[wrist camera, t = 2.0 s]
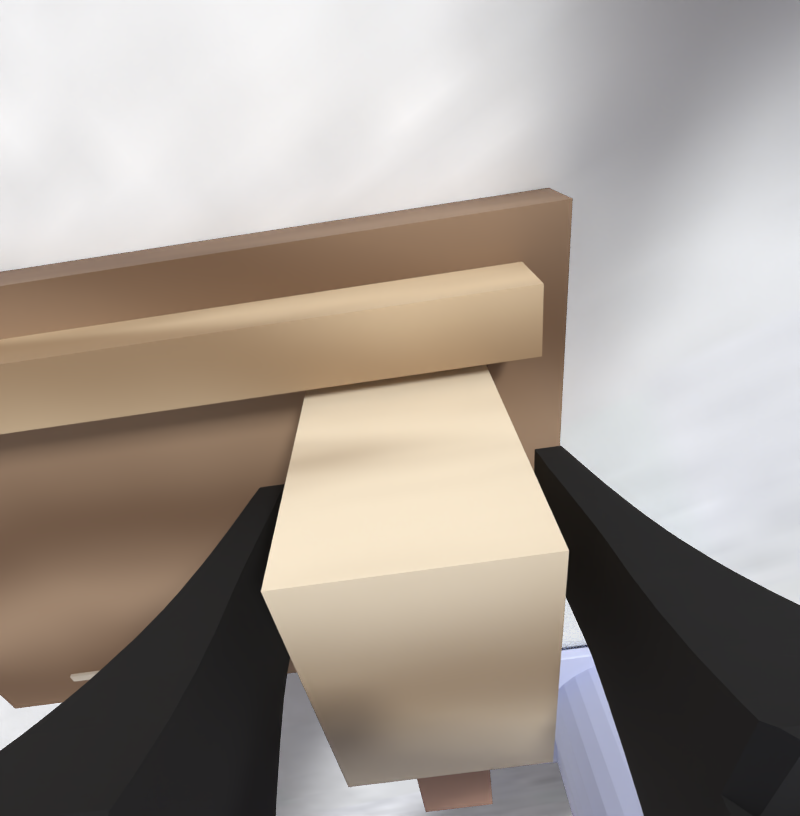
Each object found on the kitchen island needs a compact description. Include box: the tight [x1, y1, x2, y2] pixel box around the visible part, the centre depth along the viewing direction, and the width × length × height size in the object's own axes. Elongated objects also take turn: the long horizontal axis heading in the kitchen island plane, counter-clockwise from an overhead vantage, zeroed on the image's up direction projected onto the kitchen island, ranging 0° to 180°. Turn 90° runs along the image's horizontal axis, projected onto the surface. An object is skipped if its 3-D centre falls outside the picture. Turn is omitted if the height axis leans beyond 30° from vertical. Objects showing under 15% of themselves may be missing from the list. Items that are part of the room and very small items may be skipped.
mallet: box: [261, 365, 569, 812], centre depth 12 cm, size 11×4×6 cm, turn 8°
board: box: [0, 188, 572, 708], centre depth 14 cm, size 15×20×3 cm
